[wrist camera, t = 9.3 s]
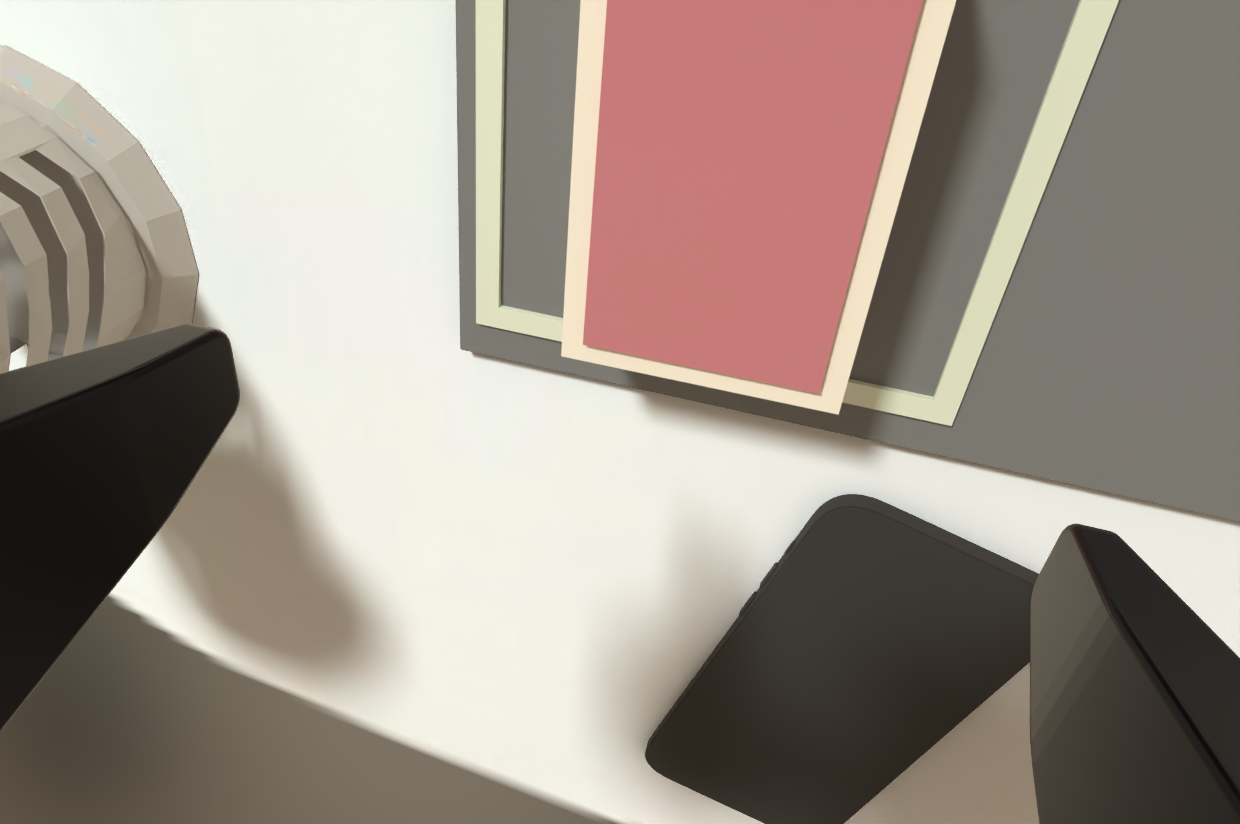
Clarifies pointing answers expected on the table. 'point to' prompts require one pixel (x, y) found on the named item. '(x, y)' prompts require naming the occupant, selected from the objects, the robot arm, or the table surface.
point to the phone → (846, 665)
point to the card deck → (740, 184)
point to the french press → (81, 223)
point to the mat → (955, 241)
